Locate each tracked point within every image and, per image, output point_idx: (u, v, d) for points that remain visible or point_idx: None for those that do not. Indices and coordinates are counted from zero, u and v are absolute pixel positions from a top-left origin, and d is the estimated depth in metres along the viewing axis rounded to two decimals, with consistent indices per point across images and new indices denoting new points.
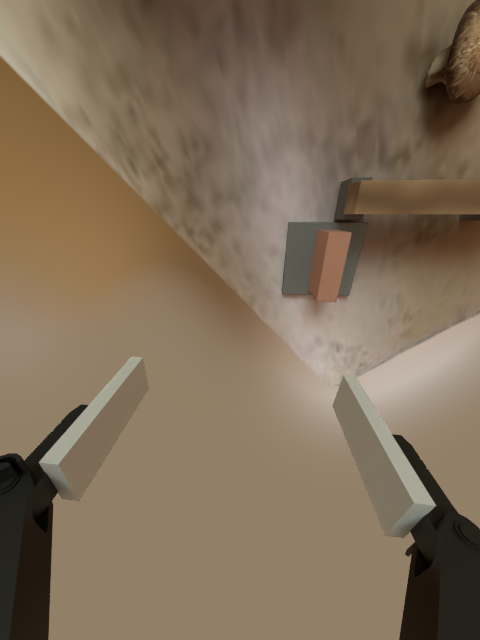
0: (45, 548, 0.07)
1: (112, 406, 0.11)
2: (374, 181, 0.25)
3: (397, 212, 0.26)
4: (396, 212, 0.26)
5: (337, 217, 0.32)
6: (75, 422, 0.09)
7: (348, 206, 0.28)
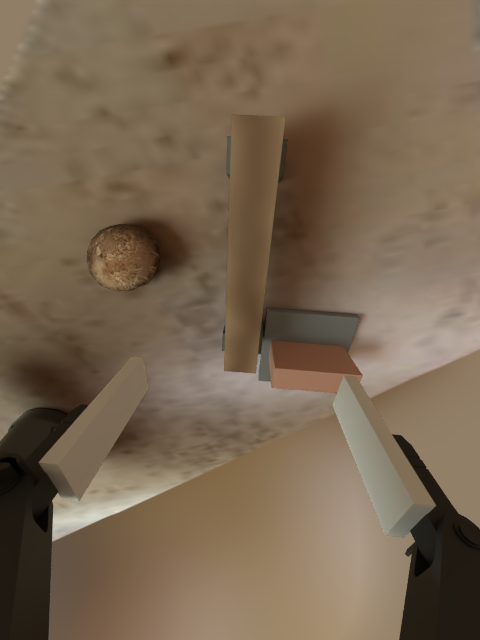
0: (45, 548, 0.07)
1: (113, 406, 0.11)
2: (225, 360, 0.23)
3: (258, 333, 0.21)
4: (258, 334, 0.21)
5: None
6: (75, 422, 0.09)
7: None
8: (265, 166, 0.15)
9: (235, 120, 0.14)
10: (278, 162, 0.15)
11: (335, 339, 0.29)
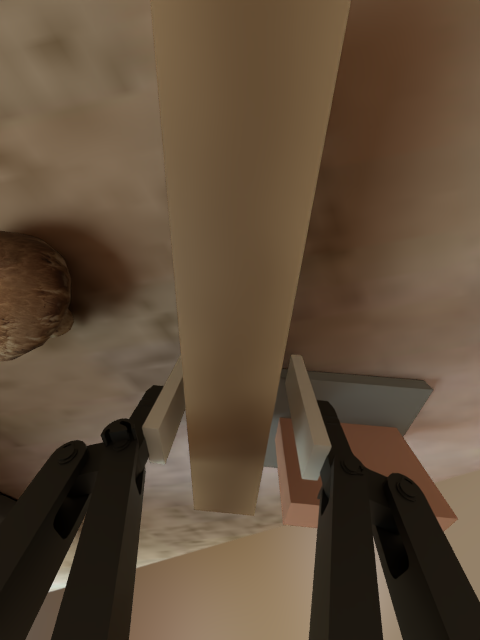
0: (138, 510, 0.08)
1: (181, 386, 0.12)
2: (195, 497, 0.12)
3: (259, 464, 0.10)
4: (259, 465, 0.10)
5: None
6: (159, 397, 0.11)
7: None
8: (290, 13, 0.04)
9: None
10: None
11: (386, 418, 0.17)
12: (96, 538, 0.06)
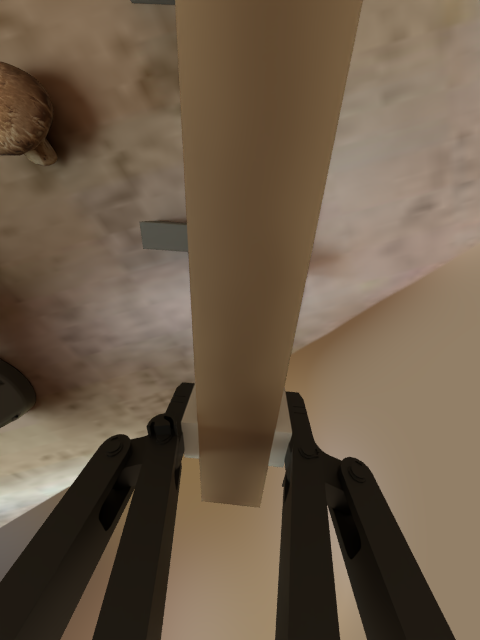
0: (175, 505, 0.08)
1: None
2: (203, 488, 0.12)
3: (266, 456, 0.10)
4: (266, 457, 0.10)
5: None
6: (192, 394, 0.11)
7: None
8: (304, 26, 0.04)
9: None
10: (354, 7, 0.04)
11: None
12: (139, 527, 0.06)
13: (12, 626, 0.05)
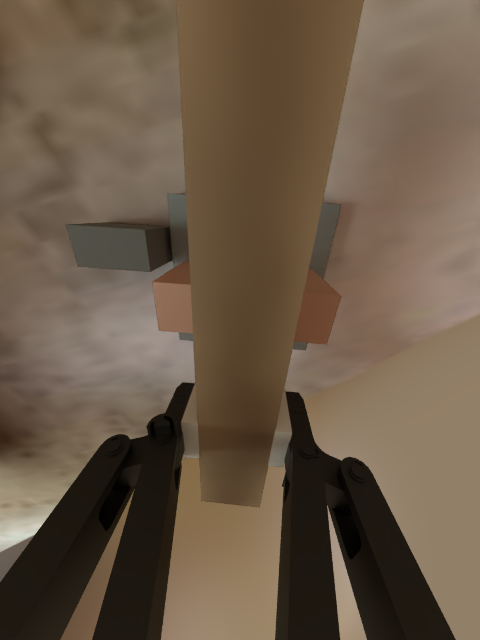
0: (175, 505, 0.08)
1: None
2: (203, 488, 0.12)
3: (266, 456, 0.10)
4: (266, 456, 0.10)
5: None
6: (192, 394, 0.11)
7: None
8: (305, 26, 0.04)
9: None
10: (355, 8, 0.04)
11: None
12: (139, 527, 0.06)
13: (12, 626, 0.05)
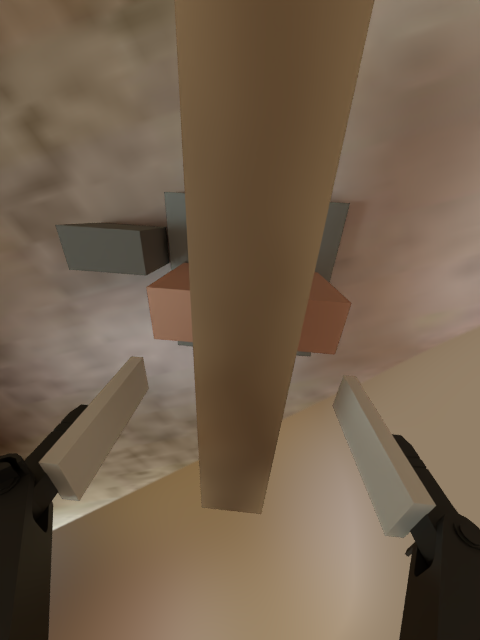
0: (45, 548, 0.07)
1: (113, 406, 0.11)
2: (203, 495, 0.12)
3: (268, 463, 0.10)
4: (268, 464, 0.10)
5: None
6: (75, 422, 0.09)
7: None
8: (314, 10, 0.04)
9: None
10: None
11: None
12: None
13: None
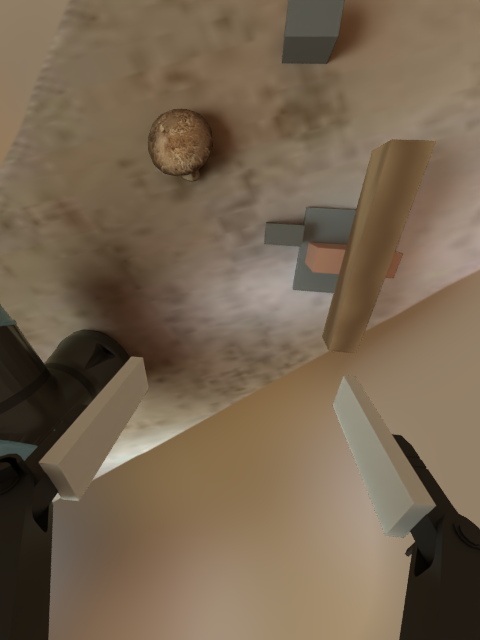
0: (45, 548, 0.07)
1: (112, 406, 0.11)
2: (333, 341, 0.27)
3: (368, 318, 0.25)
4: (367, 318, 0.25)
5: None
6: (75, 422, 0.09)
7: None
8: (409, 178, 0.19)
9: (394, 143, 0.18)
10: (421, 175, 0.19)
11: None
12: None
13: None
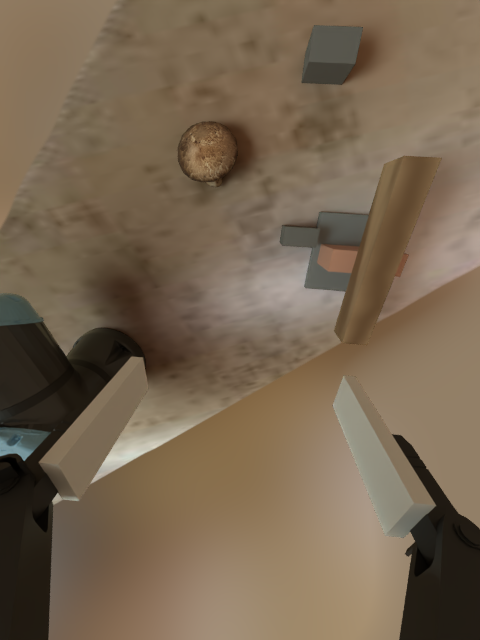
0: (45, 548, 0.07)
1: (113, 406, 0.11)
2: (346, 334, 0.30)
3: (378, 312, 0.28)
4: (378, 313, 0.28)
5: None
6: (75, 422, 0.09)
7: None
8: (418, 189, 0.22)
9: (406, 159, 0.21)
10: (428, 187, 0.22)
11: None
12: None
13: None
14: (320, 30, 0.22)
